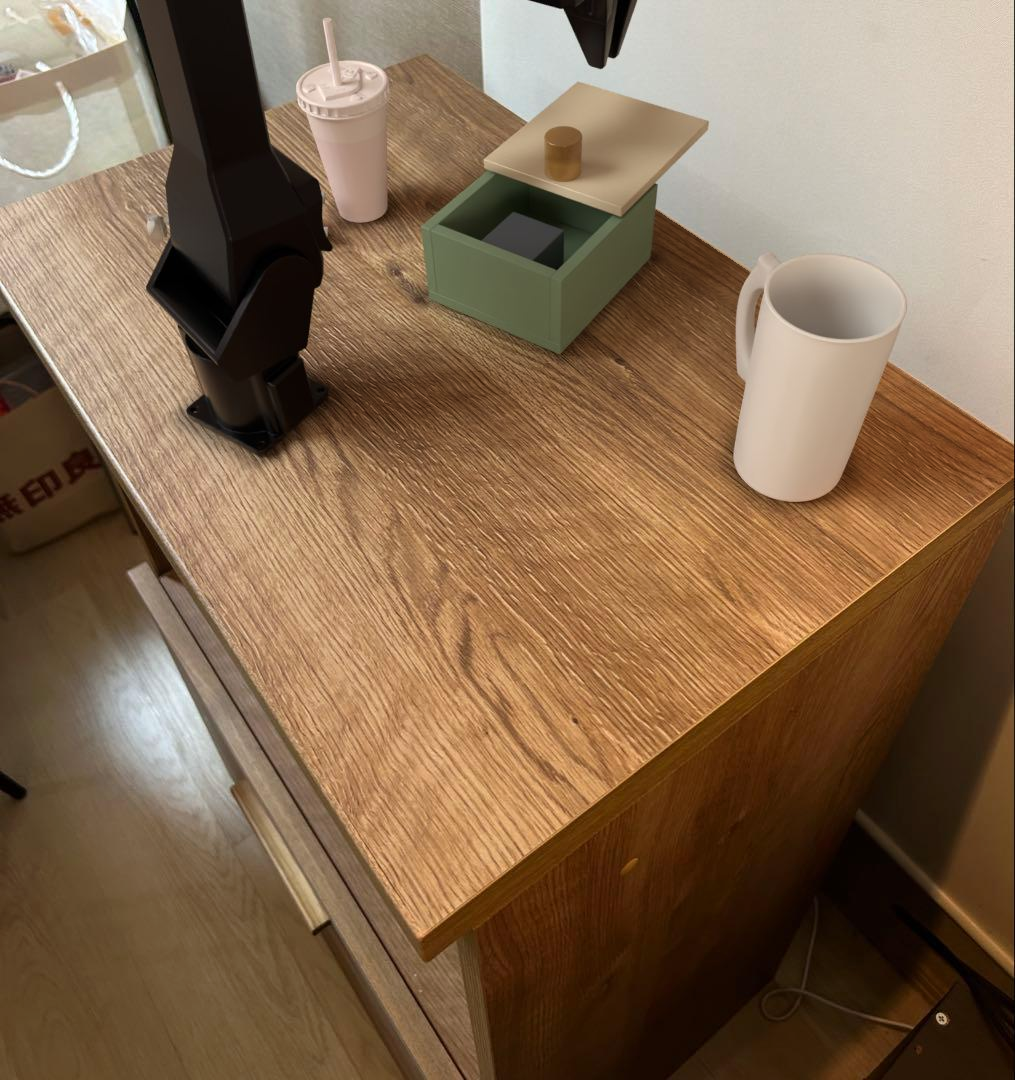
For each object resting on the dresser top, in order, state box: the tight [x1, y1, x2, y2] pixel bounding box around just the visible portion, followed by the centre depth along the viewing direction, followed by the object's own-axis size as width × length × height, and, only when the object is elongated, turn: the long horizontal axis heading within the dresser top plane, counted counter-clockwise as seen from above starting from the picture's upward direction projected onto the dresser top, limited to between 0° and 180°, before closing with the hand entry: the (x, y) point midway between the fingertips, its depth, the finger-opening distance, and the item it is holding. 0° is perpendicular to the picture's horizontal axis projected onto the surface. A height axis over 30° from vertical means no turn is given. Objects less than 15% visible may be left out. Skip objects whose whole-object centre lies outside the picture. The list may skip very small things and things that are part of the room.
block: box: [482, 212, 564, 270], centre depth 65 cm, size 4×4×4 cm
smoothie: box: [295, 17, 392, 224], centre depth 68 cm, size 6×6×14 cm
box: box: [420, 169, 659, 355], centre depth 66 cm, size 11×12×6 cm
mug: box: [732, 252, 908, 503], centre depth 53 cm, size 10×7×12 cm, turn 25°
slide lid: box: [483, 81, 710, 217], centre depth 66 cm, size 11×12×3 cm
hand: (603, 61), depth 62 cm, fingers closed
